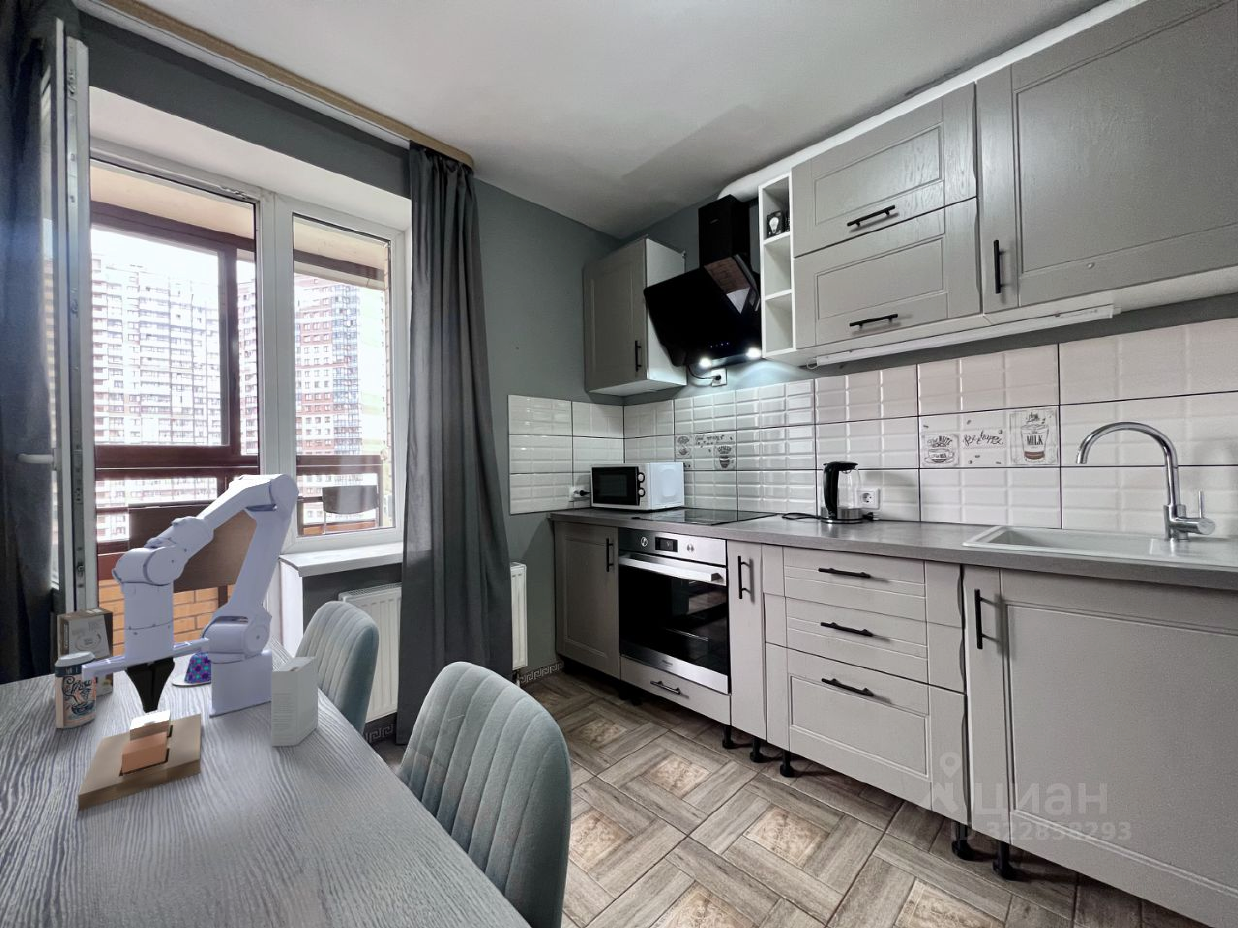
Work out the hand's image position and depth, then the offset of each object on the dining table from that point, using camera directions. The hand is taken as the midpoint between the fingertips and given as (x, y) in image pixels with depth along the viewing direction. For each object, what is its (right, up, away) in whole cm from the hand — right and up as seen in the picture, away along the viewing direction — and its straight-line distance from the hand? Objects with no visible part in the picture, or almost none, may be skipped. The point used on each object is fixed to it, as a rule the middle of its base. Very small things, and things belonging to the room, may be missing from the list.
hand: (150, 709), depth 78 cm
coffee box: (-33, -7, +21) cm, 40 cm away
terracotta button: (+6, -4, -7) cm, 10 cm away
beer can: (-21, -7, +9) cm, 24 cm away
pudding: (-15, -7, +29) cm, 33 cm away
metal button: (0, -4, 0) cm, 4 cm away
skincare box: (+21, -6, +3) cm, 22 cm away
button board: (+3, -6, -3) cm, 8 cm away
